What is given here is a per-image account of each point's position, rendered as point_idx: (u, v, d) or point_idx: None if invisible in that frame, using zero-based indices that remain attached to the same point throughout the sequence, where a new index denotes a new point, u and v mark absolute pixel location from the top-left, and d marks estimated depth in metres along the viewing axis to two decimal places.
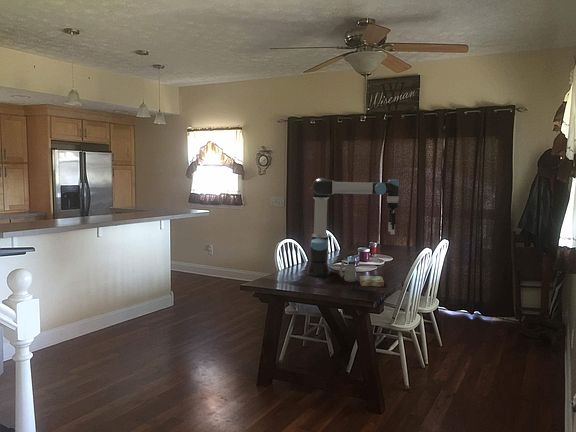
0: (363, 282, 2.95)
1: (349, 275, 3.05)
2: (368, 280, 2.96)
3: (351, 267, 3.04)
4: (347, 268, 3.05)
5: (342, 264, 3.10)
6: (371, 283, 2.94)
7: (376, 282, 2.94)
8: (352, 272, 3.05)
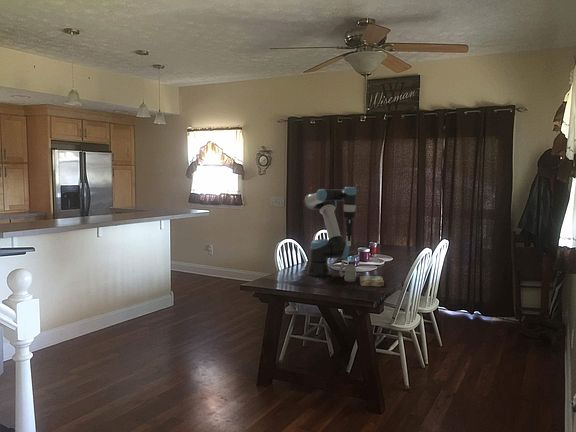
0: (363, 282, 2.95)
1: (349, 275, 3.05)
2: (368, 280, 2.96)
3: (351, 267, 3.04)
4: (347, 268, 3.05)
5: (342, 264, 3.10)
6: (371, 283, 2.94)
7: (376, 282, 2.94)
8: (352, 272, 3.05)
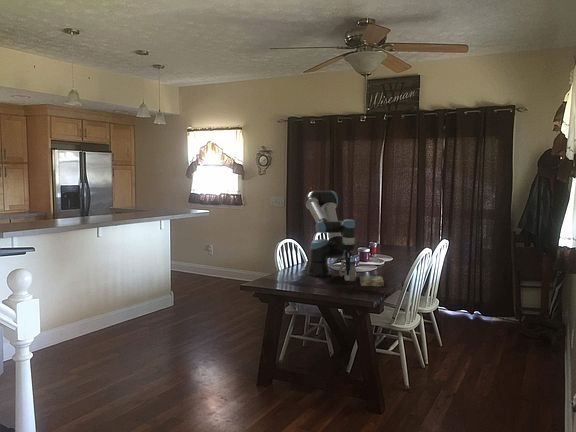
0: (363, 282, 2.95)
1: (350, 275, 3.05)
2: (368, 280, 2.96)
3: (351, 267, 3.05)
4: None
5: (342, 264, 3.11)
6: (371, 283, 2.94)
7: (376, 282, 2.94)
8: (352, 272, 3.05)
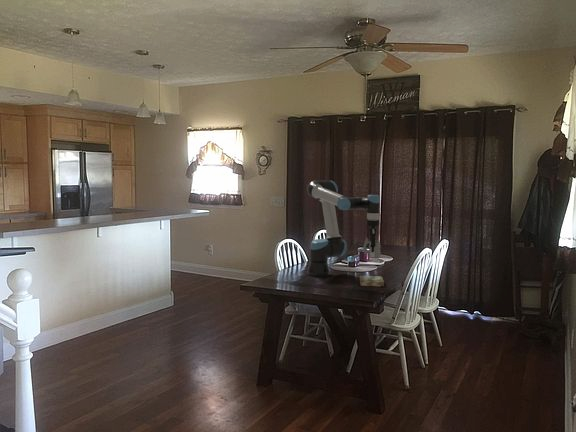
0: (363, 282, 2.95)
1: None
2: (368, 280, 2.96)
3: (376, 243, 2.95)
4: None
5: (366, 241, 3.01)
6: (371, 283, 2.94)
7: (376, 282, 2.94)
8: (377, 248, 2.95)
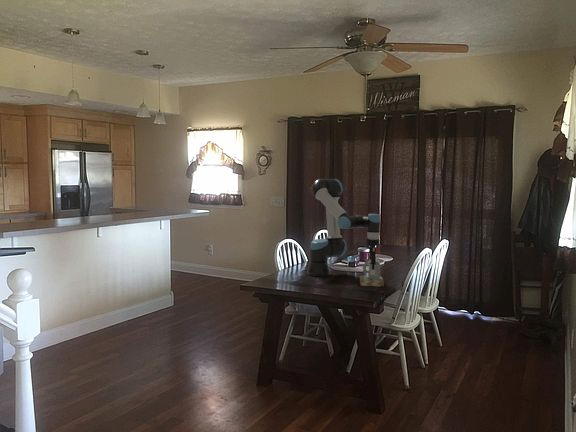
0: (363, 282, 2.95)
1: None
2: (368, 280, 2.96)
3: (376, 264, 2.97)
4: None
5: (366, 261, 3.03)
6: (371, 283, 2.94)
7: (376, 282, 2.94)
8: (377, 270, 2.97)
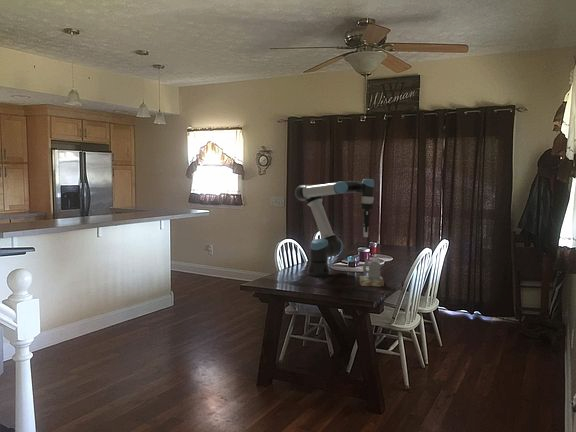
0: (363, 282, 2.95)
1: (374, 273, 2.97)
2: (368, 280, 2.96)
3: (376, 264, 2.97)
4: (372, 266, 2.98)
5: (366, 261, 3.03)
6: (371, 283, 2.94)
7: (376, 282, 2.94)
8: (377, 270, 2.97)
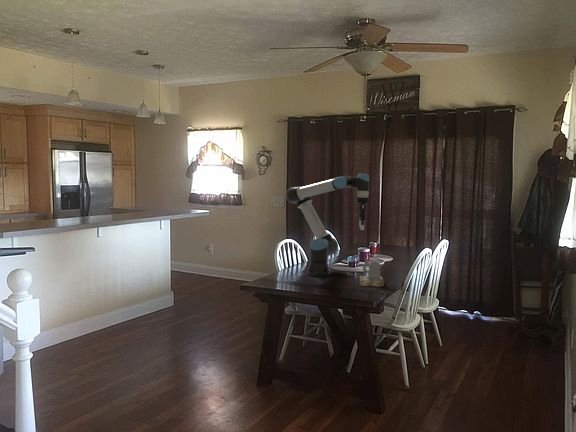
0: (363, 282, 2.95)
1: (374, 273, 2.97)
2: (368, 280, 2.96)
3: (376, 264, 2.97)
4: (372, 266, 2.98)
5: (366, 261, 3.03)
6: (371, 283, 2.94)
7: (376, 282, 2.94)
8: (377, 270, 2.97)
